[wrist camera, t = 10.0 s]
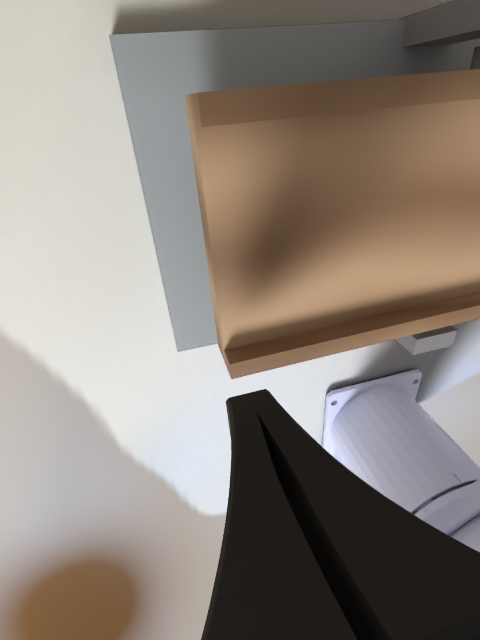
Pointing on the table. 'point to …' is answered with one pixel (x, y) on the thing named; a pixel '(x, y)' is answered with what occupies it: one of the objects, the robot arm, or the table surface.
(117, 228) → the table surface
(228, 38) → the pivot stand
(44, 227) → the table surface
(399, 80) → the beam
